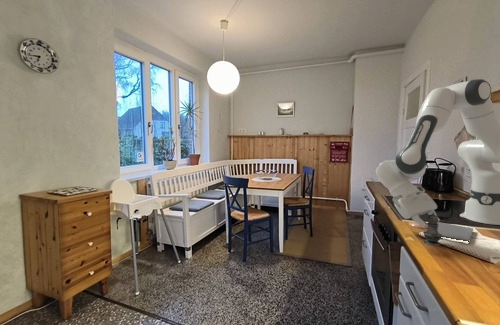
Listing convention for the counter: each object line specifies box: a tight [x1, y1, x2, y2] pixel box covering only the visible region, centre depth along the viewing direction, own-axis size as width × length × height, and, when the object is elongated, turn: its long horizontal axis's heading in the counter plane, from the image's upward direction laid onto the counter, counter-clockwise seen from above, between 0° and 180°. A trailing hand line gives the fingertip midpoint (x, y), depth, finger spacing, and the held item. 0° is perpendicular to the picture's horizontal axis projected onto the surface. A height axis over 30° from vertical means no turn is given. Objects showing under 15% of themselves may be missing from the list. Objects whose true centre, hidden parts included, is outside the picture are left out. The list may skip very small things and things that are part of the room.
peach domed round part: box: [408, 220, 428, 230], centre depth 112 cm, size 8×8×1 cm
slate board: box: [438, 221, 474, 243], centre depth 101 cm, size 18×12×2 cm, turn 134°
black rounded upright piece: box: [422, 213, 442, 247], centre depth 93 cm, size 6×6×12 cm
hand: (431, 223), depth 93 cm, fingers open, 8 cm apart
